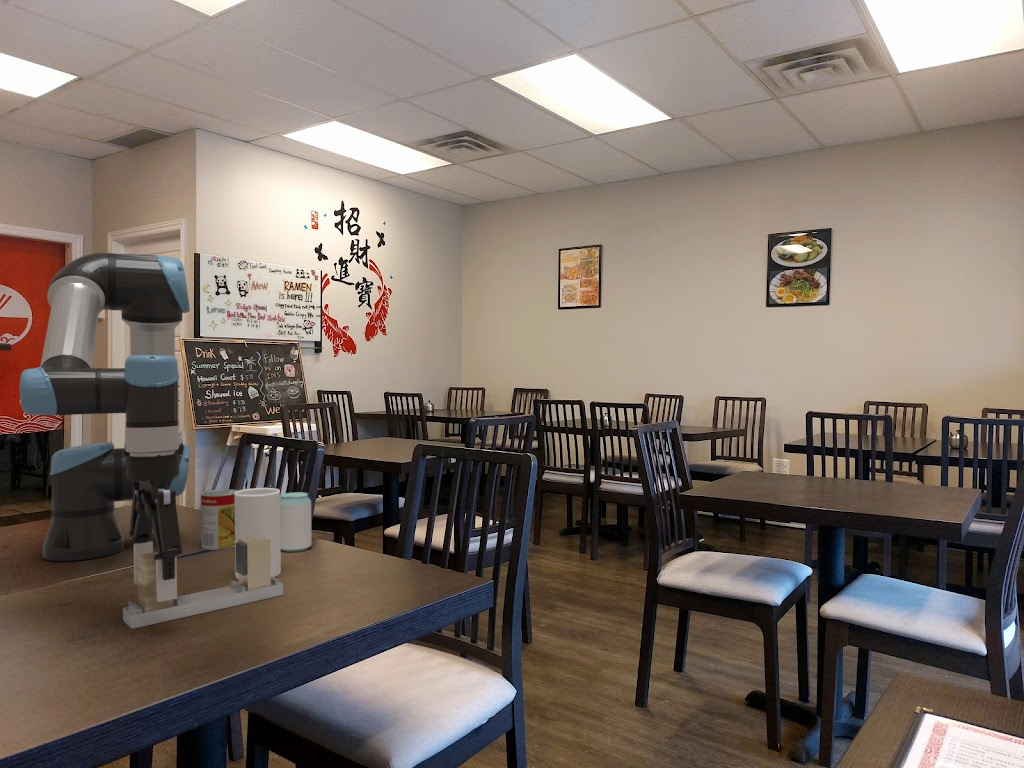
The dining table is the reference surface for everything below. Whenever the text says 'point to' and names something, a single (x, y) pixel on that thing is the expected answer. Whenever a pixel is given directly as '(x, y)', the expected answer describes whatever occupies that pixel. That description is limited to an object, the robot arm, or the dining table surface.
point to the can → (295, 522)
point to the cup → (259, 520)
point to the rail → (251, 587)
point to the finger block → (148, 584)
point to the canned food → (218, 519)
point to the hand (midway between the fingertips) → (154, 590)
